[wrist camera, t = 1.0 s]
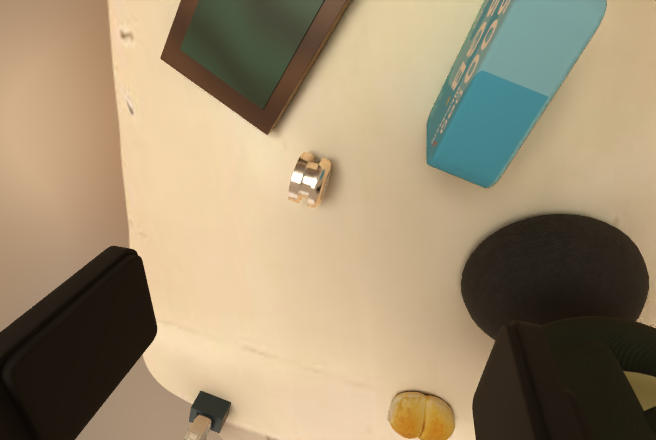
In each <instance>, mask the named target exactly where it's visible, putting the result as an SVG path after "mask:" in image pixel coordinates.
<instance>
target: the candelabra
mask: <svg viewBox="0 0 656 440" xmlns="http://www.w3.org/2000/svg"><path fill="white" fill-rule="evenodd" d="M648 290H649V276H648V272H647V268H646V265H645V262H644V259H643V257H642V255H641V253H640V251H639V249H638V248H637V246H636V245H635V244H634V243H633V241H632V240H631V239H630V238H629V237H628V236H627V235H625V234H624V233H623V232H621V231H620V230H619V229H617V228H615V227H613V226H611V225H609V224H608V223H606V222H603V221H600V220H597V219H594V218H590V217H585V216H579V215H569V214H553V215H542V216H537V217H532V218H527V219H524V220H521V221H518V222H515V223H513V224H510V225H508V226H506V227H504V228H502V229H500V230H498V231H497V232H495V233H494V234H492V235H491V236H489V237H488V238H487V239H486V240H484V241H483V242H482V243H481V244H480V245H479V246H478V247H477V248H476V249H475V251H474V252H473V253H472V254H471V256H470V258H469V259H468V261H467V263H466V265H465V268H464V270H463V273H462V279H461V292H462V296H463V300H464V303H465V305H466V307H467V309H468V311H469V313H470V315H471V317H472V319H473V320H474V322H475V323H476V324H477V326H478V327H479V328H481V329H482V330H483V331H484V332H485V333H486V334H487V335H489V336H490V337H492V338H493V339H494V340H496V338H497V336H498V333H499V331H500V328H501V326H502V325H503V324H505V325H509V324H510V323H511V321H512V320H518V321H523V322H529V323H534V324H539V325H540V326H542V328H543V331H544V333H545V336H546V339H547V341H548V344H549V347H550V350H551V352H552V355H553V358H554V361H555V363H556V366H557V369H558V371H559V374H560V377H561V380H562V382H563V385H564V388H565V389H566V390H570V391H573V392H574V393H575V394H576V395H577V397H578V399H579V401H580V403H581V405H582V408H583V410H584V413H585V415H586V418H587V420H588V423H589V425H590V428H591V431H592V433H593V436H594V438H595V440H656V328H653V327H650V326H647V325H644V324H642V323H639V322H636V320H637V319H638V318H639V316H640V314H641V311H642V309H643V307H644V304H645V302H646V299H647V295H648Z"/></svg>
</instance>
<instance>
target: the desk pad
mask: <svg viewBox="0 0 656 440" xmlns="http://www.w3.org/2000/svg"><path fill="white" fill-rule="evenodd" d="M350 1H351V0H181V2H180V5H179V7H178V10H177V13H176V16H175V19H174V21H173V24H172V27H171V30H170V33H169V35H168V38H167V41H166V44H165V46H164V49H163V52H162V55H161V58H160V59H162V60H163V61H164V62H166V63H167V64H169V65H170V66H171V67H173V68H174V69H176V70H177V71H178V72H180V73H181V74H183V75H184V76H185V77H187V78H188V79H190V80H191V81H192V82H194V83H195V84H197V85H198V86H199V87H201V88H202V89H204V90H205V91H206V92H208V93H209V94H211V95H212V96H213V97H215V98H216V99H218V100H219V101H220V102H222V103H223V104H225V105H226V106H227V107H229V108H230V109H232V110H233V111H234V112H236V113H237V114H239V115H240V116H241V117H243V118H244V119H246V120H247V121H248V122H250V123H251V124H253V125H254V126H255V127H257V128H258V129H260V130H261V131H262V132H264V133H265V134H266V135H268V134H269V133H270V132H271V131H272V130H273V129H274V128H275V126H276V125H277V123H278V121H279V120H280V118H281V116H282V115H283V113H284V111H285V110H286V108H287V106H288V105H289V103H290V101H291V100H292V98H293V96H294V95H295V93H296V91H297V90H298V88H299V86H300V85H301V83H302V81H303V80H304V78H305V76H306V75H307V73H308V71H309V70H310V68H311V66H312V65H313V63H314V61H315V60H316V58H317V56H318V55H319V53H320V51H321V50H322V48H323V46H324V45H325V43H326V41H327V40H328V38H329V36H330V35H331V33H332V31H333V30H334V28H335V26H336V25H337V23H338V21H339V20H340V18H341V16H342V14H343V13H344V11H345V9H346V8H347V6H348V4H349V3H350Z"/></svg>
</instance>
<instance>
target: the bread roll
mask: <svg viewBox="0 0 656 440" xmlns="http://www.w3.org/2000/svg"><path fill="white" fill-rule="evenodd" d="M388 421H389V422H390V424H391V426H392V428H393V429H394V430H395V431H396V432H397V433H398V434H400V435H401V436H403V437H405V438H417V437H418V438H419V439H421V440H447V439H448V438H449V437H450V436H451V435H452V433H453V431H454V428H455V422H454V416H453V412H452V410H451V409H450V407H449V406H448V405H447V404H446V403H445V402H444V401H443V400H441V399H439V398H437V397H435V396H431V395H428V396H425V395H423V394H422V393H419V392H405V393H401V394H399V395H397V396H395V398H394V399H393V401H392V403H391V405H390V410H389V414H388Z"/></svg>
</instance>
